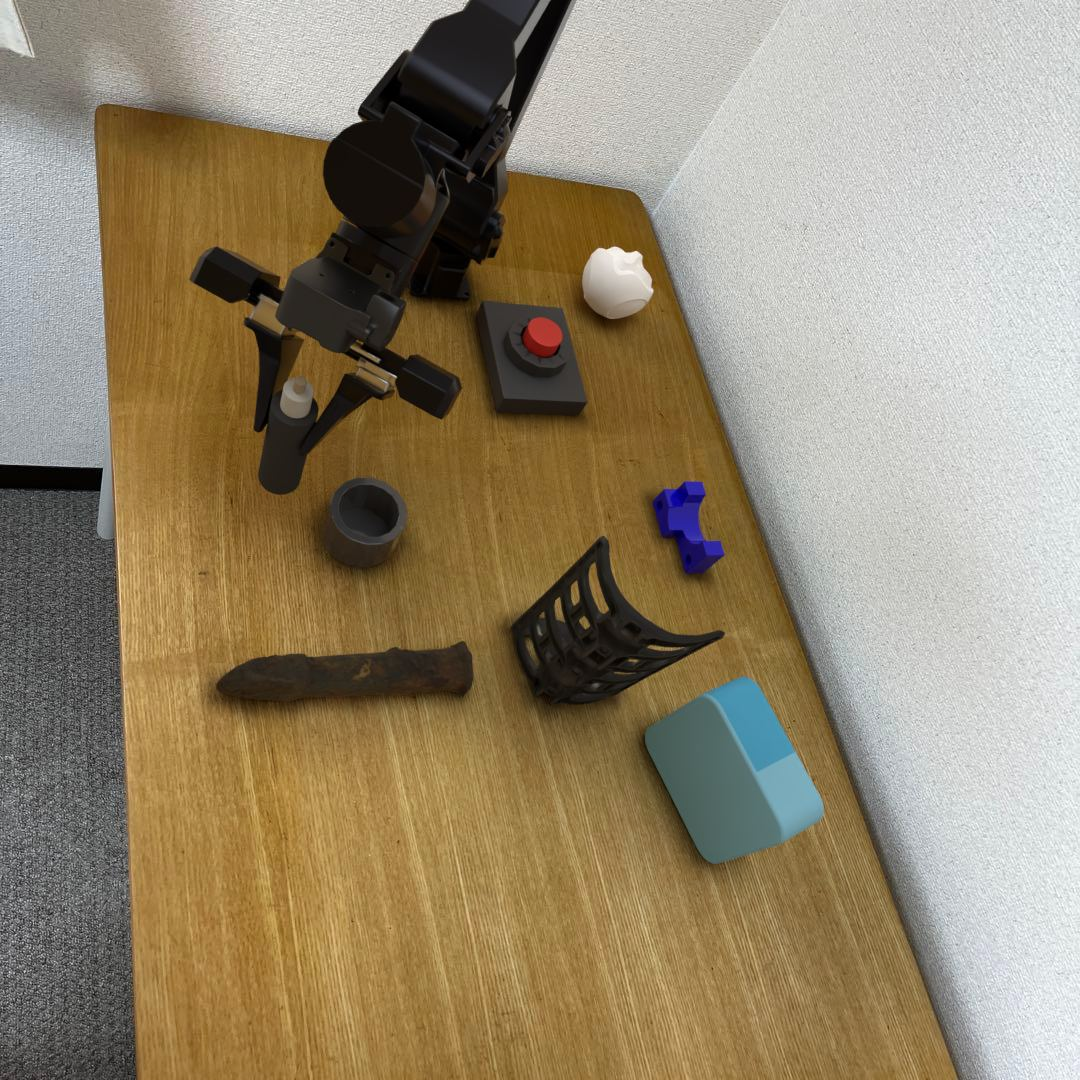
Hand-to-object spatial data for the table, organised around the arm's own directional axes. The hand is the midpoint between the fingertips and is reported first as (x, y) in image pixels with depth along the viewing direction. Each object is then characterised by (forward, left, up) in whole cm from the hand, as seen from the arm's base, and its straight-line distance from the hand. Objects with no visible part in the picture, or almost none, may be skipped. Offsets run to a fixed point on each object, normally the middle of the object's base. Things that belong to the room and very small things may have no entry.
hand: (279, 443), depth 63 cm
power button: (-18, +27, -9) cm, 34 cm away
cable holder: (+2, +39, -12) cm, 41 cm away
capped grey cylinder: (-1, +1, -7) cm, 7 cm away
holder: (+15, +23, -12) cm, 30 cm away
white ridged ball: (-27, +38, -13) cm, 49 cm away
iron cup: (+1, +8, -12) cm, 15 cm away
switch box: (-18, +27, -12) cm, 35 cm away
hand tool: (+15, +5, -13) cm, 20 cm away
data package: (+26, +33, -12) cm, 44 cm away
